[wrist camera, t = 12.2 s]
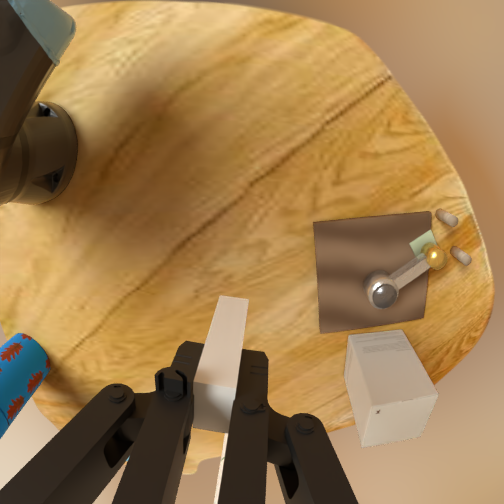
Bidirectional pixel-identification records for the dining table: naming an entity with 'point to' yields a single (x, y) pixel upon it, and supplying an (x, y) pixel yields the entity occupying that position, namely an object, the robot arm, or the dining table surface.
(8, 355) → the thermos
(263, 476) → the robot arm
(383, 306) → the crank handle
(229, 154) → the dining table surface
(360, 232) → the dial board
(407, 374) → the supplement box
